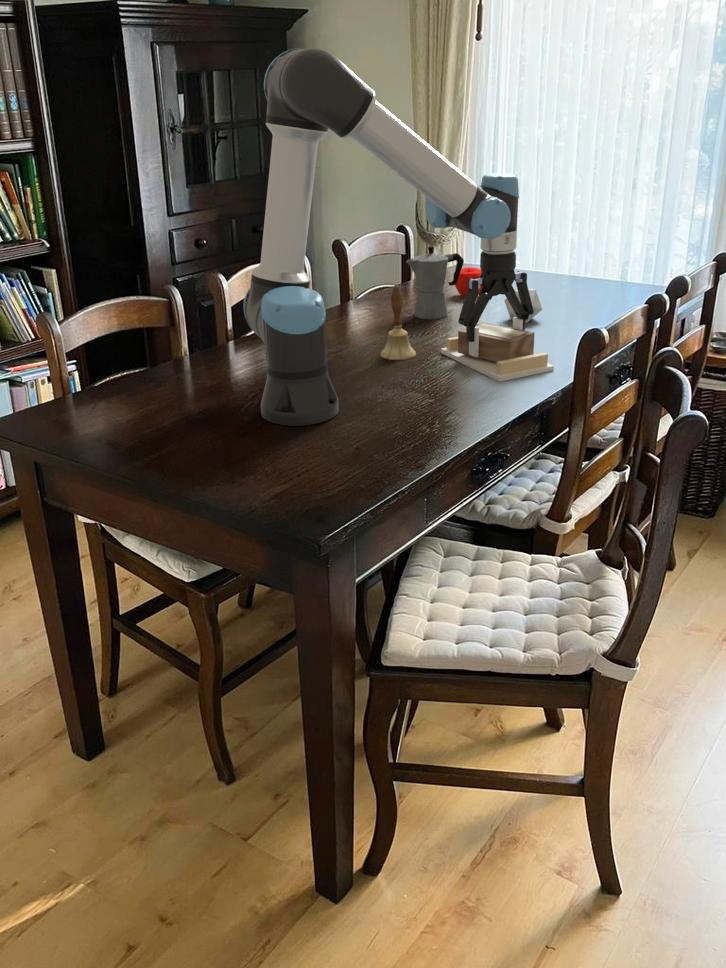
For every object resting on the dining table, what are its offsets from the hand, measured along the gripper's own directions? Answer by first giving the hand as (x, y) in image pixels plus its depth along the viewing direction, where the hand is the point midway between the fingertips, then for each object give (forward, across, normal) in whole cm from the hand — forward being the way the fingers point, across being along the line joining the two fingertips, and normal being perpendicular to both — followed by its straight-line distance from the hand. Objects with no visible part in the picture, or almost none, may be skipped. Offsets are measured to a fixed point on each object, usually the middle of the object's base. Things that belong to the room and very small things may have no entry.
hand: (495, 351), depth 200 cm
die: (+3, +25, +25) cm, 35 cm away
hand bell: (+3, -16, +16) cm, 23 cm away
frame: (+1, 0, 0) cm, 1 cm away
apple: (+3, +27, +54) cm, 60 cm away
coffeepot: (+3, +9, +42) cm, 43 cm away
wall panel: (+2, 0, 0) cm, 2 cm away
